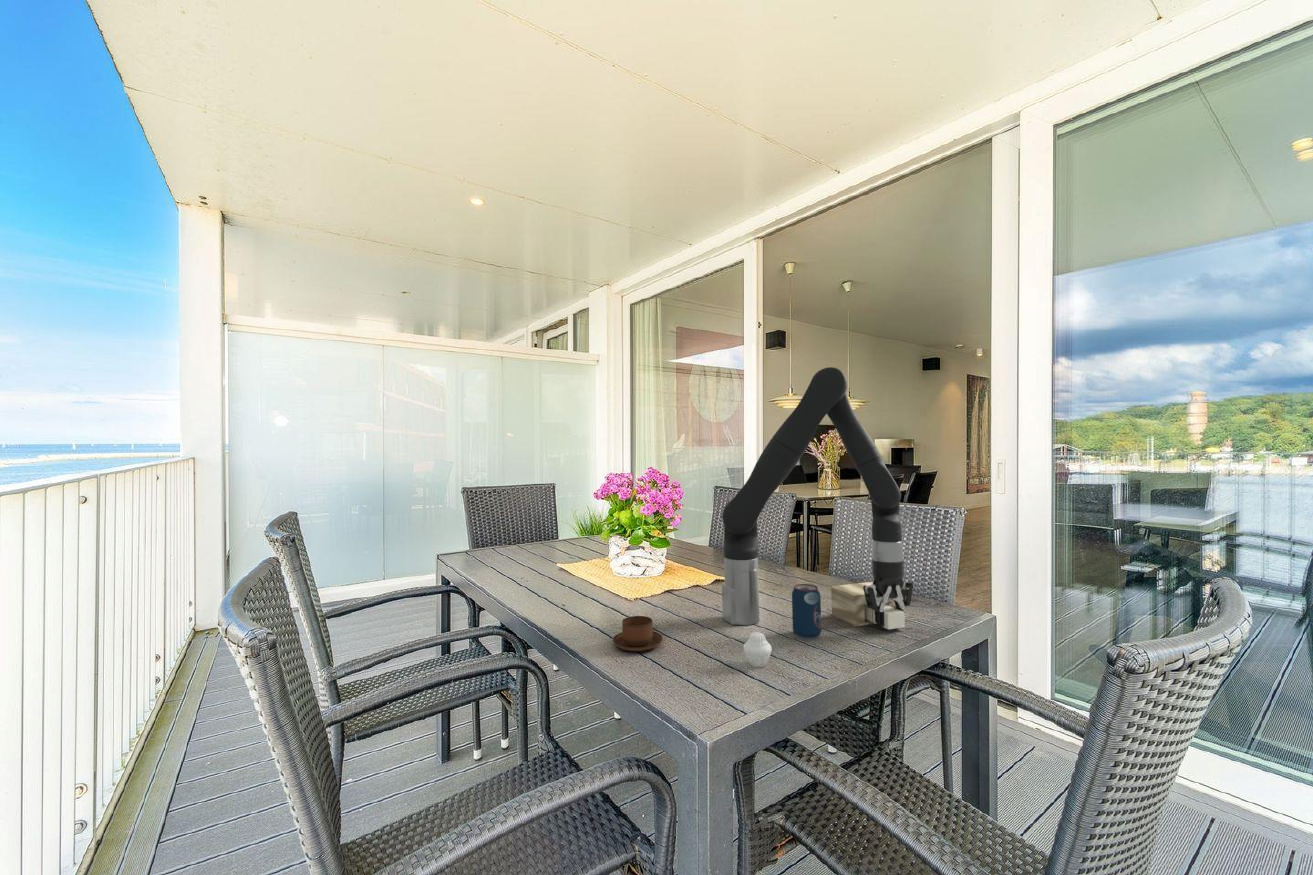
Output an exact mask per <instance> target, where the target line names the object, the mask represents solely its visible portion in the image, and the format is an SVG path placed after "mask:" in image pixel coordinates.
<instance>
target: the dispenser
mask: <svg viewBox="0 0 1313 875" xmlns="http://www.w3.org/2000/svg"><path fill="white" fill-rule="evenodd" d="M872 584H873V581H866V582H859V583H849V584H840V585H832V586H830V588H831V589H830V595H831V596H830V597H831V599H830V600H831V616H833V617H835V618H837V619H839V620H841V621H843V622H845V623H848V624H850V625H851V626H853V627H862V626H868V625H869V626H870V625H874V624H875V623H872V622H871V621H869V620H866V619H865V611H864V606H866V607H867V603H866V598H865V594H864V590H863V586H865V585H866V586H870V585H872ZM875 592H876V590H875ZM880 598H881V599H882V598H883V597H880ZM879 605H880V603H879ZM885 605H888V606H890V607H893V608H895V606H894V603H893V600H892V599H891V598H889V599H888V601H887V603H886V604H885ZM875 625H876V624H875Z"/></svg>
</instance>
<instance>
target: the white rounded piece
mask: <svg viewBox="0 0 1313 875" xmlns="http://www.w3.org/2000/svg"><path fill="white" fill-rule="evenodd" d="M742 649H743V651H744V656H745V657H746V659H747V660H748V662H749V664H750V665H751V666H752V667H755V668H763V667H765V666H766V665H767V662H768V660H769V659H770V657H771V653H772V650H773V649H772V645H771V644H770V642H769V641H768V640H767V639H766V636H765V634H763V633H761V632H757V631H756V632H751V633H750V634H749V636H748V639H747V640H746V642H744V644H743V648H742Z"/></svg>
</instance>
